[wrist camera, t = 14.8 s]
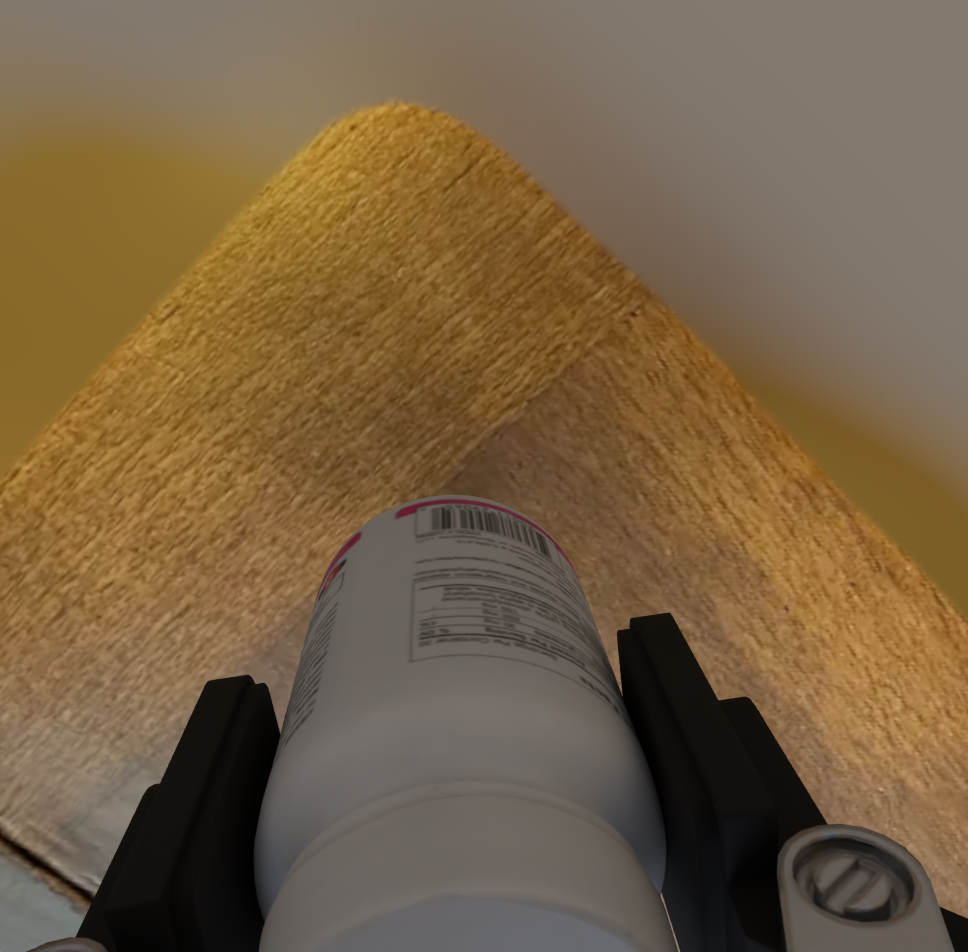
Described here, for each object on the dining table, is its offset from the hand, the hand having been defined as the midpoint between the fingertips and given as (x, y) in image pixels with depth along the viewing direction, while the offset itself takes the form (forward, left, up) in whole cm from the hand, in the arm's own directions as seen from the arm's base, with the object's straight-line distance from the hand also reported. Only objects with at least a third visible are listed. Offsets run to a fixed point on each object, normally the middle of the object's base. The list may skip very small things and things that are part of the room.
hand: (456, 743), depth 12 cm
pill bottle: (0, 0, -4) cm, 4 cm away
